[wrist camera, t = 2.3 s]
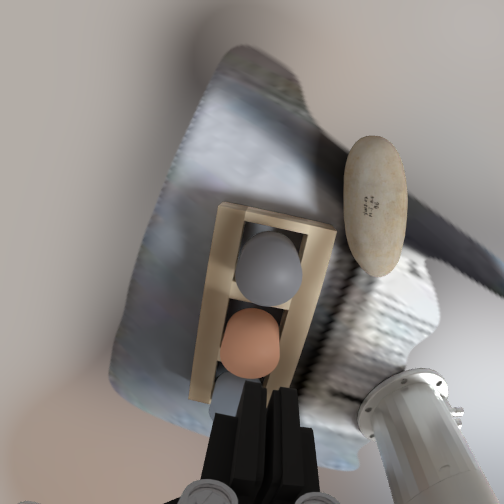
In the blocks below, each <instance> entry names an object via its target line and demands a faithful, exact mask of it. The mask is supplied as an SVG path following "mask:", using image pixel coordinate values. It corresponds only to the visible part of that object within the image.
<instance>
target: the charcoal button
mask: <svg viewBox="0 0 504 504" xmlns="http://www.w3.org/2000/svg"><path fill="white" fill-rule="evenodd" d="M302 275H303V274H302V267H301V264H300V260H299V256H298V253H297V250H296V247H295V245H294V244H293V242H292V241H291V240H290V239H289V238H288V237H286V236H285V235H283V234H281V233H278V232H273V231H265V232H261V233H258V234H256V235H254V236H252V237H251V238H250V239H249V240H248V241H247V242H246V243H245V245H244V246H243V249H242V251H241V254H240V257H239V260H238V263H237V266H236V271H235V278H236V283H237V286H238V288H239V290H240V292H241V293H242V294H243V296H244V297H245V298H247V299H248V300H249V301H251V302H253V303H255V304H257V305H261V306H269V307H271V306H277V305H281V304H283V303H285V302H287V301H289V300H290V299H291V298H292V297H293V296H294V295H295V294H296V293H297V291H298V290H299V288H300V286H301V283H302Z"/></svg>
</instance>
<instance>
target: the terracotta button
mask: <svg viewBox="0 0 504 504" xmlns="http://www.w3.org/2000/svg"><path fill="white" fill-rule="evenodd" d="M220 358H221V361H222V363H223V365H224V367H225V368H226V369H227V370H228V371H229V372H231V373H232V374H234V375H236V376H238V377H241V378H246V379H256V378H261V377H264V376H266V375H268V374H269V373H271V372H272V371H273V370H274V369H275V368H276V366H277V365H278V362H279V358H280V347H279V327H278V324H277V322H276V320H275V319H274V317H273V316H272V315H271V314H269V313H268V312H266V311H264V310H261V309H257V308H246V309H243V310H240V311H238V312H236V313H235V314H234V315H232V317H231V318H230V319H229V321H228V323H227V327H226V330H225V334H224V338H223V341H222V345H221V348H220Z"/></svg>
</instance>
